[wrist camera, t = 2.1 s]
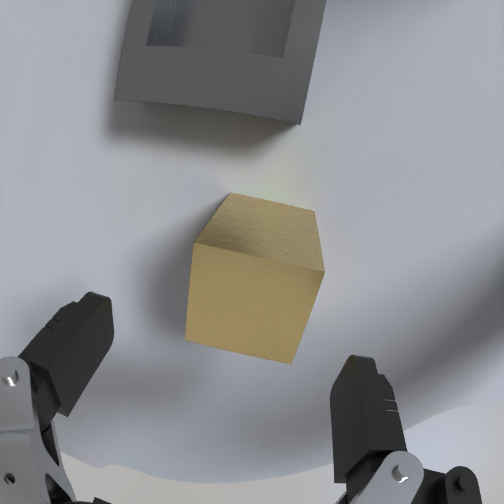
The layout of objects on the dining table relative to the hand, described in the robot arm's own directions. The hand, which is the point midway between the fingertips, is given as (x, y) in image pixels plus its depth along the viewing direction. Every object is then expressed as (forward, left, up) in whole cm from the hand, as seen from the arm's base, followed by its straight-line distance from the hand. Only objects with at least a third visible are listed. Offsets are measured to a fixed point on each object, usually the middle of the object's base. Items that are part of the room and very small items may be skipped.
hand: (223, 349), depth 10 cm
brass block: (0, 0, -10) cm, 10 cm away
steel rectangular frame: (+4, -17, -10) cm, 20 cm away
